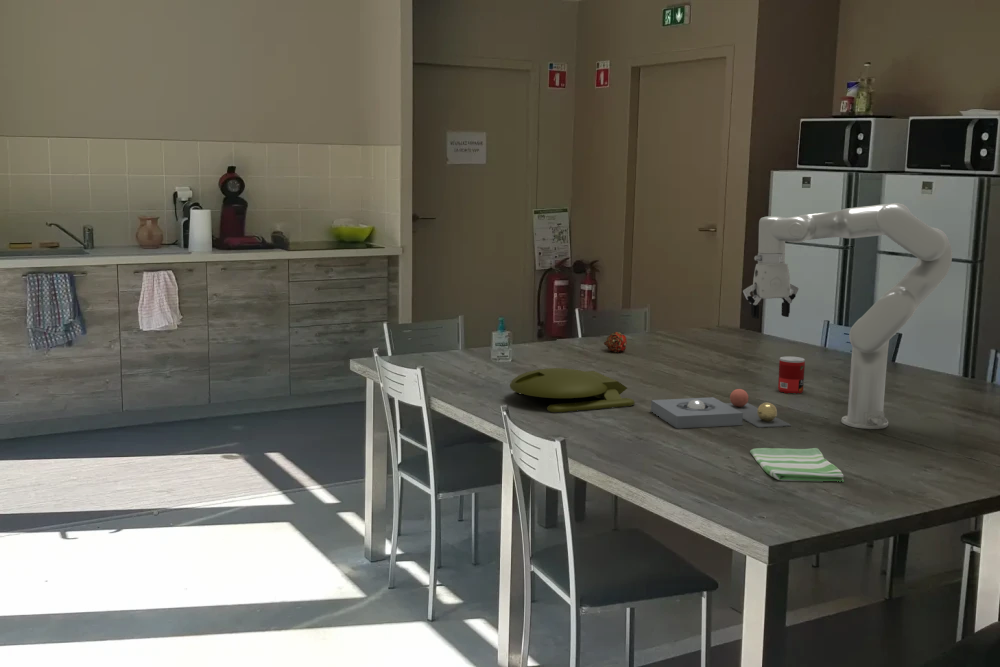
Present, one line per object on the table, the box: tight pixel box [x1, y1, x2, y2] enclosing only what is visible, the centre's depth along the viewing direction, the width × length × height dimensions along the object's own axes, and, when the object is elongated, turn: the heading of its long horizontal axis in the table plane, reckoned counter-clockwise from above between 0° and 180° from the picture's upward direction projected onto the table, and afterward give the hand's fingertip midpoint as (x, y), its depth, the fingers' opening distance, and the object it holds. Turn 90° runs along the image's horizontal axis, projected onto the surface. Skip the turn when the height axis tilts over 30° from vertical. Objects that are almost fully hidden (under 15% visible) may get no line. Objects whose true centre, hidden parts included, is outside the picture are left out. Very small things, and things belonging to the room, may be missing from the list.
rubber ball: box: [729, 388, 749, 407], centre depth 309 cm, size 6×6×6 cm
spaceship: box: [509, 367, 636, 413], centre depth 319 cm, size 35×31×10 cm
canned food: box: [777, 356, 806, 395], centre depth 332 cm, size 8×8×11 cm
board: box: [650, 396, 743, 429], centre depth 297 cm, size 20×20×4 cm
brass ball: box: [757, 402, 778, 422], centre depth 292 cm, size 6×6×6 cm
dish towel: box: [749, 447, 845, 483], centre depth 250 cm, size 18×23×3 cm
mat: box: [724, 402, 792, 429], centre depth 301 cm, size 28×10×1 cm, turn 13°
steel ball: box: [687, 400, 706, 409], centre depth 297 cm, size 6×6×6 cm
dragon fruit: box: [603, 331, 628, 353], centre depth 401 cm, size 8×8×12 cm
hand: (770, 317), depth 299 cm, fingers open, 9 cm apart
